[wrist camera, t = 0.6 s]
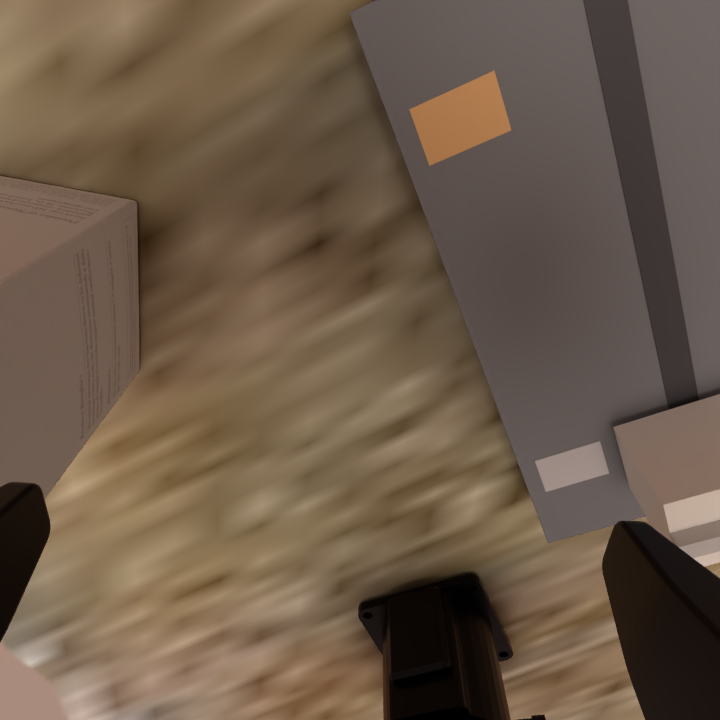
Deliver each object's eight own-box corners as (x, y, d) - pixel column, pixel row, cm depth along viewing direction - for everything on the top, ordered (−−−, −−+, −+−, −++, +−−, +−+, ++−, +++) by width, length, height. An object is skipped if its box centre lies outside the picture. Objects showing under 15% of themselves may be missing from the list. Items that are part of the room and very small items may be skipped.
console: (817, 407, 23) (875, 453, 20) (530, 492, 26) (548, 543, 23) (778, -195, 15) (869, -252, 12) (353, 19, 17) (349, 13, 14)
